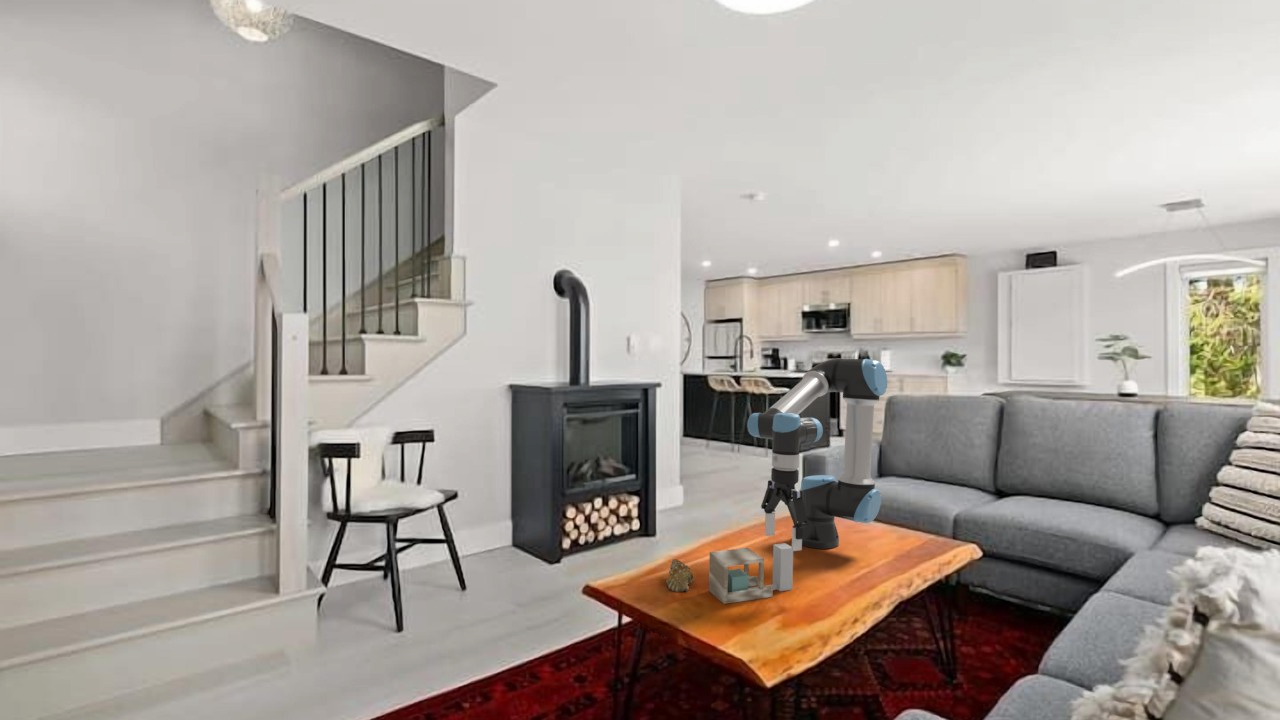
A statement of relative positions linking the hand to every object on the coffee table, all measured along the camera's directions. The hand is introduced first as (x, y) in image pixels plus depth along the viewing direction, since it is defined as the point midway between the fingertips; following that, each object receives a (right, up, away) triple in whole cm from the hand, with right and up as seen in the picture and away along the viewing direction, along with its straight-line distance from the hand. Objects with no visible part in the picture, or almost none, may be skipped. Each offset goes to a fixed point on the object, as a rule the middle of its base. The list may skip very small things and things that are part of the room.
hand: (782, 542), depth 174 cm
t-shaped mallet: (-7, -13, -2) cm, 15 cm away
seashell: (-30, -13, +2) cm, 32 cm away
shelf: (-13, -13, -4) cm, 19 cm away
